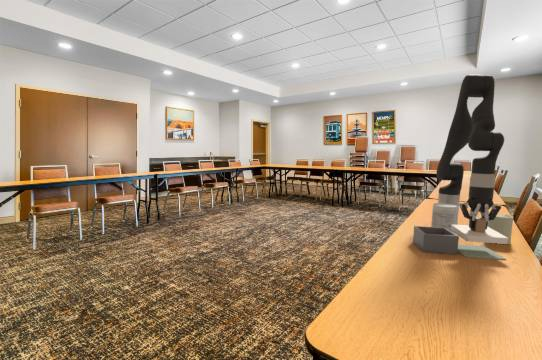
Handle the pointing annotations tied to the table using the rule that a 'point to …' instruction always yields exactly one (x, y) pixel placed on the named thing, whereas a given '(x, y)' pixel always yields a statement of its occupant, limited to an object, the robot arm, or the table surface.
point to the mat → (478, 252)
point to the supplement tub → (444, 215)
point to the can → (502, 225)
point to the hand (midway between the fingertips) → (477, 229)
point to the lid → (479, 233)
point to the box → (435, 240)
